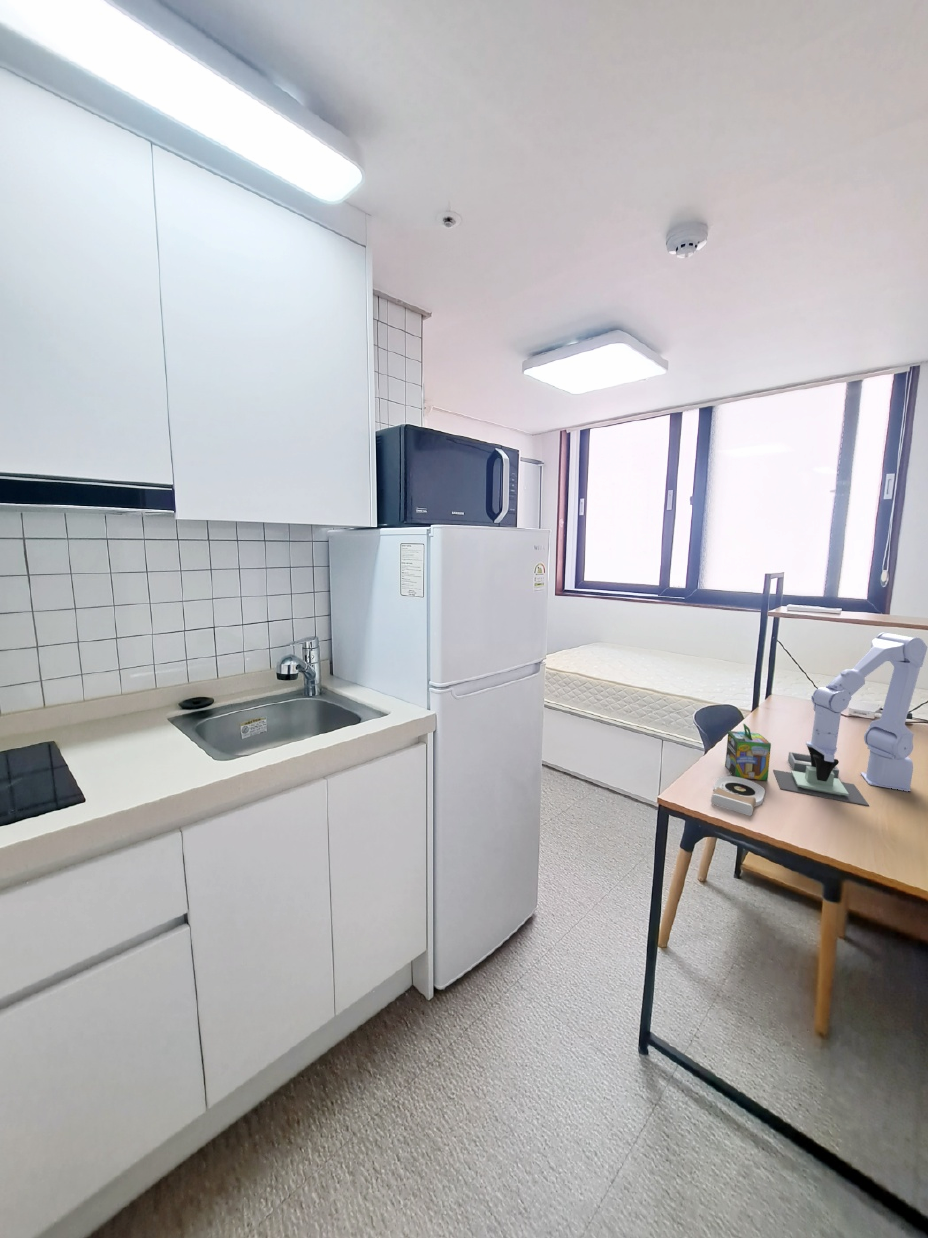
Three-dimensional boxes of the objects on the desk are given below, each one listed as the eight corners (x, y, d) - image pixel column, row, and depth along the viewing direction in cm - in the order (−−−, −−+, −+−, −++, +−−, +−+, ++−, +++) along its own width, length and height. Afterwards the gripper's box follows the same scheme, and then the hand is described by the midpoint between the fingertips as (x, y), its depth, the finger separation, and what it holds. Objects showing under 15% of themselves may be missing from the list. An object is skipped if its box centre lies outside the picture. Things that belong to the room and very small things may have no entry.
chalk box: (768, 782, 140) (774, 733, 138) (733, 778, 142) (739, 730, 140) (756, 768, 149) (761, 722, 147) (723, 764, 151) (728, 719, 149)
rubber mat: (853, 785, 139) (854, 784, 139) (869, 806, 128) (869, 805, 128) (773, 770, 148) (773, 769, 148) (780, 789, 136) (780, 788, 136)
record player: (707, 792, 128) (722, 767, 143) (705, 803, 128) (720, 777, 144) (758, 807, 121) (768, 779, 136) (756, 819, 121) (766, 790, 137)
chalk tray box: (829, 769, 150) (830, 758, 150) (837, 781, 142) (839, 770, 142) (787, 762, 155) (789, 751, 154) (793, 773, 147) (794, 762, 146)
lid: (838, 783, 140) (840, 767, 139) (848, 798, 131) (850, 781, 130) (790, 774, 144) (792, 759, 144) (797, 789, 136) (799, 772, 135)
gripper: (802, 719, 143) (797, 763, 145) (814, 736, 130) (807, 783, 132) (831, 724, 140) (825, 767, 142) (846, 741, 127) (839, 789, 129)
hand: (819, 776), depth 137 cm, fingers open, 5 cm apart
